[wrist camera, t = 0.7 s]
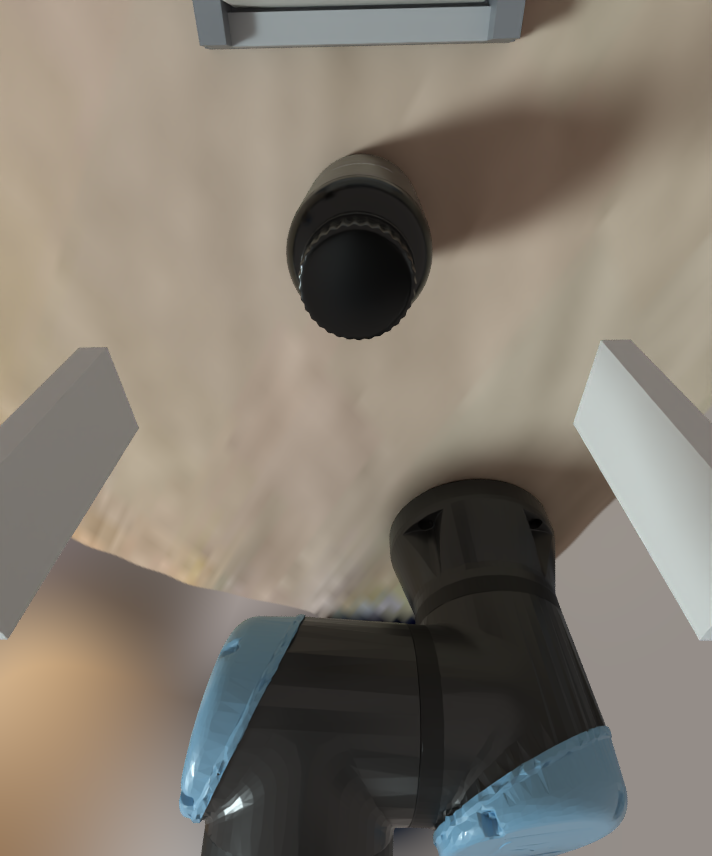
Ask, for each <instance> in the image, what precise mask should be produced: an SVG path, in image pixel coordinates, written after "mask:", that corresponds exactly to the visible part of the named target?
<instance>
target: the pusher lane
mask: <svg viewBox="0 0 712 856" xmlns="http://www.w3.org/2000/svg"><path fill="white" fill-rule="evenodd" d="M192 1H193V7H194V13H195V19H196V25H197V31H198V36H199V42H200V46H204V47H205V48H206V49H250V48H293V47H336V46H379V45H422V44H465V43H509V42H513V41H515V39H519V38H520V34H521V27H522V21H523V14H524V7H525V0H485V1H484V2H473V3H433V4H392V5H352V6H312V7H272V8H235V7H233V6H231V5H230V4H228V3H226V2H224V1H223V0H192Z"/></svg>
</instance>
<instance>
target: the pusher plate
mask: <svg viewBox="0 0 712 856" xmlns="http://www.w3.org/2000/svg"><path fill="white" fill-rule="evenodd" d="M223 1H224V2H226V3H228V4H230V5H231V6H233V7H235V8H272V7H312V6H352V5H392V4H433V3H473V2H484V1H485V0H223Z"/></svg>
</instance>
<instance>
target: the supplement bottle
mask: <svg viewBox="0 0 712 856" xmlns="http://www.w3.org/2000/svg"><path fill="white" fill-rule="evenodd" d="M286 255H287V264H288V269H289V273H290V276H291V279H292V281H293V284H294V286H295V288H296V290H297V291H298V293H299V295H300V296H301V300H302V302H303V303H304V304H305V310H306V311H307V312H309V313H310V316H311V319H313V320H314V321H316V322H317V324H318V325H319V327H322V328H325V330H326V331H327V332H328V333H333V334H335V335H336V336H337V337H344V338H346V339H356V340H362V339H364V338H365V339H371V338H373V337H374V336H381V335H382V334H383V333H384V332H388V331H390V330H391V329H392V327H393V326H396V325H397V324H399V322H400V319H402V318H403V317H405V316H406V312H407V310H408V309H409V308H410V307H411V304H412V303H413V302H414V301H415V300H416V299H417V297H418V296H419V294H420V293H421V291H422V290H423V288H424V286H425V284H426V281H427V279H428V276H429V273H430V269H431V264H432V240H431V234H430V230H429V226H428V223H427V220H426V218H425V215H424V213H423V210H422V207H421V205H420V202H419V200H418V197H417V194H416V192H415V190H414V188H413V186H412V184H411V182H410V181H409V179H408V178H407V176H406V175H405V174H404V173H403V172H402V171H401V170H400V169H399V168H398V167H397V166H396V165H394V164H393V163H391V162H390V161H388V160H386V159H384V158H382V157H379V156H375V155H370V154H355V155H350V156H346V157H343V158H341V159H339V160H337V161H335V162H334V163H332V164H331V165H329V166H328V167H327V168H326V169H325V170H323V171H322V173H321V174H320V175H319V176H318V177H317V179H316V180H315V182H314V183H313V185H312V186H311V188H310V190H309V191H308V193H307V195H306V197H305V198H304V200H303V202H302V203H301V205H300V207H299V209H298V210H297V212H296V214H295V216H294V218H293V221H292V223H291V227H290V230H289V234H288V238H287V247H286Z"/></svg>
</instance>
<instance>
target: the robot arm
mask: <svg viewBox="0 0 712 856" xmlns="http://www.w3.org/2000/svg"><path fill="white" fill-rule="evenodd" d="M573 424H574V426H575V427H576V429H577V431H578V433H579V434H580V436H581V438H582V439H583V441H584V443H585V445H586V446H587V448H588V450H589V451H590V453H591V455H592V457H593V458H594V460H595V462H596V463H597V465H598V467H599V469H600V470H601V472H602V474H603V475H604V477H605V479H606V481H607V482H608V484H609V486H610V487H611V489H612V491H613V493H614V494H615V496H616V498H617V499H618V501H619V503H620V505H621V506H622V508H623V510H624V511H625V513H626V515H627V517H628V518H629V520H630V522H631V523H632V525H633V527H634V528H635V530H636V532H637V534H638V535H639V537H640V539H641V541H642V542H643V544H644V546H645V547H646V549H647V550H648V553H649V554H650V556H651V558H652V559H653V561H654V563H655V565H656V566H657V568H658V570H659V571H660V573H661V575H662V577H663V578H664V580H665V582H666V583H667V585H668V587H669V589H670V590H671V591H672V594H673V595H674V597H675V599H676V600H677V602H678V604H679V606H680V607H681V609H682V611H683V612H684V614H685V616H686V618H687V619H688V621H689V623H690V625H691V626H692V628H693V629H694V631H695V633H696V635H697V637H698V638H699V640H712V423H711V422H710V421H709V420H708V419H707V418H706V417H705V416H704V415H703V414H702V413H701V412H700V411H699V410H698V408H697V407H696V406H695V405H694V404H693V403H692V402H691V401H690V400H689V399H688V398H687V397H686V396H685V395H684V394H683V393H682V392H681V391H680V390H679V389H678V388H677V387H676V386H675V385H674V384H673V383H672V382H671V381H670V380H669V379H668V378H667V377H666V376H665V374H664V373H663V372H662V371H661V370H660V369H659V368H658V367H657V366H656V365H655V364H654V363H653V362H652V361H651V360H650V359H649V358H648V357H647V356H646V355H645V354H644V353H643V352H642V351H641V350H640V349H639V348H638V347H637V346H636V345H635V344H634V343H633V342H632V340H601V342H600V345H599V348H598V351H597V354H596V357H595V360H594V363H593V366H592V369H591V372H590V375H589V378H588V381H587V384H586V387H585V390H584V393H583V396H582V399H581V402H580V405H579V408H578V411H577V414H576V417H575V420H574V423H573ZM138 429H139V427H138V425H137V422H136V420H135V417H134V414H133V412H132V409H131V407H130V404H129V402H128V399H127V397H126V394H125V392H124V389H123V386H122V384H121V381H120V379H119V376H118V374H117V371H116V369H115V366H114V364H113V361H112V358H111V356H110V353H109V351H108V348H107V347H91V348H78V349H77V350H76V351H75V352H74V353H73V354H72V355H71V356H70V357H69V358H68V359H67V360H66V361H65V362H64V363H63V364H62V365H61V366H60V367H59V368H58V369H57V370H56V371H55V372H54V373H53V374H52V375H51V376H50V377H49V378H48V379H47V380H46V381H45V382H44V383H43V384H42V385H41V386H40V387H39V388H38V389H37V390H36V391H35V392H34V393H33V394H32V395H31V396H30V397H29V398H28V399H27V400H26V401H25V402H24V403H23V404H22V405H21V406H20V407H19V408H18V409H17V410H16V411H15V412H14V413H13V414H12V415H11V416H10V417H9V418H8V419H7V420H6V421H5V422H4V423H3V424H2V425H1V426H0V639H8V638H9V636H10V635H11V633H12V632H13V630H14V628H15V627H16V625H17V623H18V622H19V620H20V619H21V617H22V615H23V614H24V612H25V611H26V609H27V608H28V606H29V604H30V603H31V601H32V599H33V598H34V596H35V595H36V593H37V591H38V590H39V588H40V587H41V585H42V583H43V582H44V580H45V578H46V577H47V575H48V574H49V572H50V570H51V569H52V567H53V566H54V564H55V562H56V560H57V559H58V557H59V556H60V554H61V553H62V551H63V549H64V548H65V546H66V545H67V543H68V541H69V539H70V538H71V537H72V535H73V533H74V532H75V530H76V529H77V527H78V525H79V524H80V522H81V520H82V519H83V517H84V516H85V514H86V512H87V511H88V509H89V508H90V506H91V504H92V503H93V501H94V500H95V498H96V496H97V495H98V493H99V491H100V490H101V488H102V487H103V485H104V483H105V482H106V480H107V479H108V477H109V475H110V474H111V472H112V471H113V469H114V467H115V466H116V464H117V462H118V461H119V459H120V458H121V456H122V454H123V453H124V451H125V450H126V448H127V446H128V445H129V443H130V441H131V440H132V438H133V437H134V435H135V433H136V432H137V430H138ZM390 556H391V562H392V566H393V569H394V571H395V573H396V575H397V578H398V580H399V582H400V584H401V586H402V588H403V591H404V593H405V595H406V597H407V599H408V602H409V604H410V606H411V608H412V610H413V612H414V615H415V621H416V625H415V624H405V623H390V622H375V621H360V620H345V619H330V618H315V617H305V615H302V614H300V615H297V616H296V617H277V616H276V617H274V616H257V617H252V618H249V619H247V620H245V621H243V622H242V623H241V624H239V625H238V626H237V627H236V628H235V629H234V631H233V632H232V633H231V635H230V636H229V638H228V639H227V641H226V643H225V644H224V646H223V649H222V650H221V652H220V655H219V657H218V659H217V661H216V664H215V667H214V669H213V671H212V674H211V677H210V679H209V682H208V685H207V688H206V691H205V693H204V696H203V699H202V702H201V705H200V709H199V712H198V715H197V718H196V721H195V725H194V729H193V732H192V736H191V740H190V743H189V747H188V751H187V756H186V760H185V764H184V769H183V774H182V781H181V789H182V791H181V796H180V800H179V805H180V806H179V807H180V811H181V813H182V815H183V816H184V817H187V818H190V819H191V820H192V822H193V823H200V822H201V821H202V820H205V831H204V838H203V845H202V852H201V856H393V832H394V829H395V828H407V827H413V828H429V829H433V830H434V834H433V841H434V845H435V846H436V848H437V849H438V852H439V856H555V855H559V854H562V853H566V852H568V851H571V850H575V849H578V848H580V847H583V846H585V845H588V844H591V843H593V842H595V841H597V840H599V839H601V838H603V837H605V836H606V835H608V834H609V833H611V832H612V831H613V830H615V829H616V828H617V827H618V826H619V825H620V823H621V822H622V820H623V818H624V816H625V814H626V810H627V791H626V787H625V784H624V781H623V777H622V774H621V770H620V767H619V764H618V761H617V757H616V754H615V750H614V747H613V744H612V740H611V737H612V736H611V732H610V729H609V727H607V726H605V722H604V720H603V717H602V715H601V712H600V710H599V707H598V704H597V702H596V699H595V697H594V694H593V691H592V689H591V686H590V684H589V681H588V679H587V676H586V673H585V671H584V668H583V665H582V663H581V660H580V658H579V655H578V652H577V650H576V647H575V645H574V642H573V640H572V637H571V634H570V632H569V629H568V627H567V624H566V622H565V619H564V616H563V614H562V611H561V608H560V606H559V603H558V600H557V597H556V594H555V537H554V532H553V529H552V526H551V524H550V522H549V519H548V517H547V515H546V512H545V510H544V508H543V506H542V505H541V504H540V502H539V501H538V500H537V499H536V498H535V497H534V496H532V495H531V494H530V493H528V492H527V491H525V490H523V489H521V488H519V487H517V486H514V485H511V484H508V483H504V482H499V481H493V480H464V481H458V482H453V483H449V484H445V485H442V486H439V487H436V488H433V489H431V490H429V491H427V492H425V493H423V494H421V495H419V496H418V497H416V498H415V499H413V500H412V501H411V502H409V503H408V504H407V505H406V506H405V507H404V508H403V509H402V510H401V511H400V513H399V514H398V515H397V517H396V518H395V520H394V522H393V524H392V527H391V530H390Z"/></svg>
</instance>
